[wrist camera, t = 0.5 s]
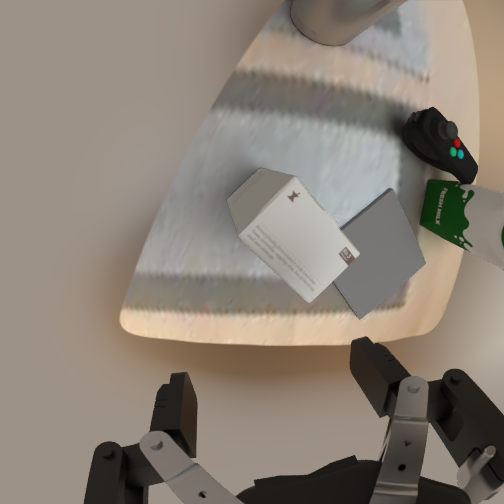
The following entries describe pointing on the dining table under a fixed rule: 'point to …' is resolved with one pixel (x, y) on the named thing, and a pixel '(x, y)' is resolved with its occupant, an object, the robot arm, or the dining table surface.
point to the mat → (379, 254)
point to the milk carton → (467, 217)
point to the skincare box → (290, 231)
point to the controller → (439, 144)
